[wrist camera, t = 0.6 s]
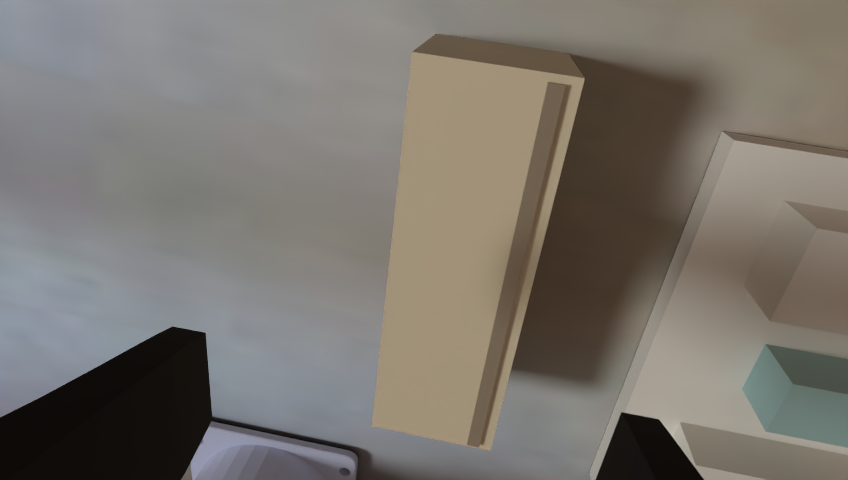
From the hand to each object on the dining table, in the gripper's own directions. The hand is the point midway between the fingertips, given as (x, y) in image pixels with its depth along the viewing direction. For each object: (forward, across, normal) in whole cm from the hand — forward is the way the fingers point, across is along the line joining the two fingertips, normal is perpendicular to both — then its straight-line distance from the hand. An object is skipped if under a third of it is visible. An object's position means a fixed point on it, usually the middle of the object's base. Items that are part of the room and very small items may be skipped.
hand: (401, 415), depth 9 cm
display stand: (+10, -13, +4) cm, 17 cm away
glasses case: (+11, -1, +1) cm, 11 cm away
